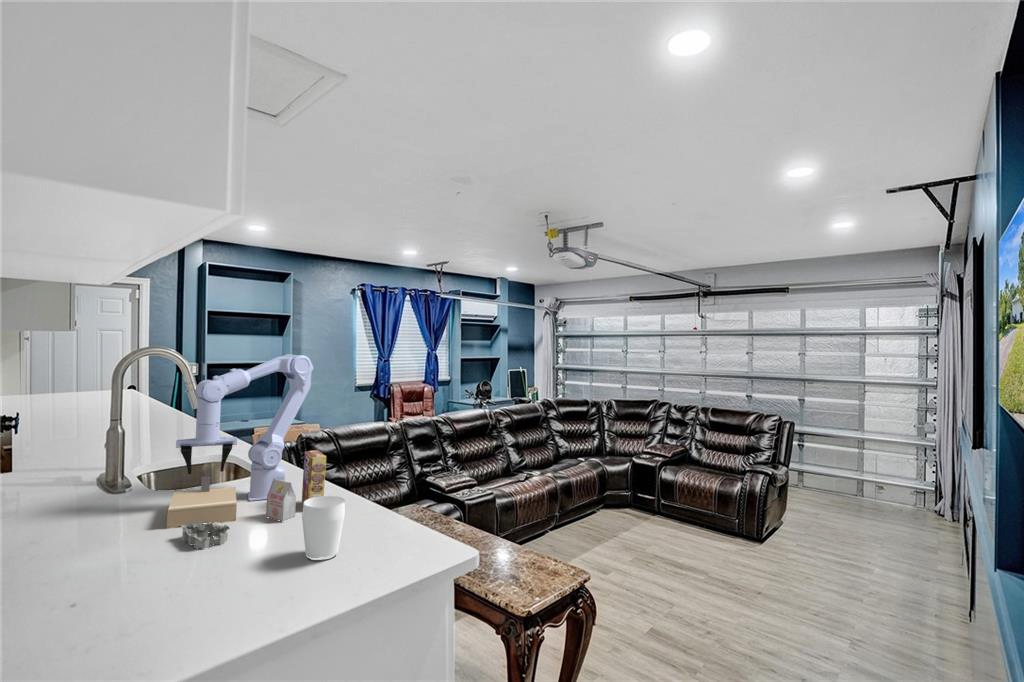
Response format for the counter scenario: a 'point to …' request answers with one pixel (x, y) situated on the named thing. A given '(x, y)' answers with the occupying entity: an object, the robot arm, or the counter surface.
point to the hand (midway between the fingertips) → (206, 472)
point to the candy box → (313, 475)
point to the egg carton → (204, 534)
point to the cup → (322, 525)
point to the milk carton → (281, 501)
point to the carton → (201, 516)
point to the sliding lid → (203, 497)
